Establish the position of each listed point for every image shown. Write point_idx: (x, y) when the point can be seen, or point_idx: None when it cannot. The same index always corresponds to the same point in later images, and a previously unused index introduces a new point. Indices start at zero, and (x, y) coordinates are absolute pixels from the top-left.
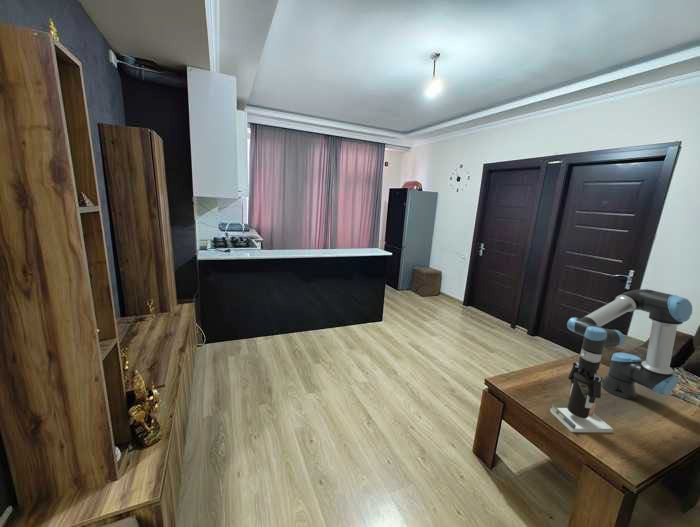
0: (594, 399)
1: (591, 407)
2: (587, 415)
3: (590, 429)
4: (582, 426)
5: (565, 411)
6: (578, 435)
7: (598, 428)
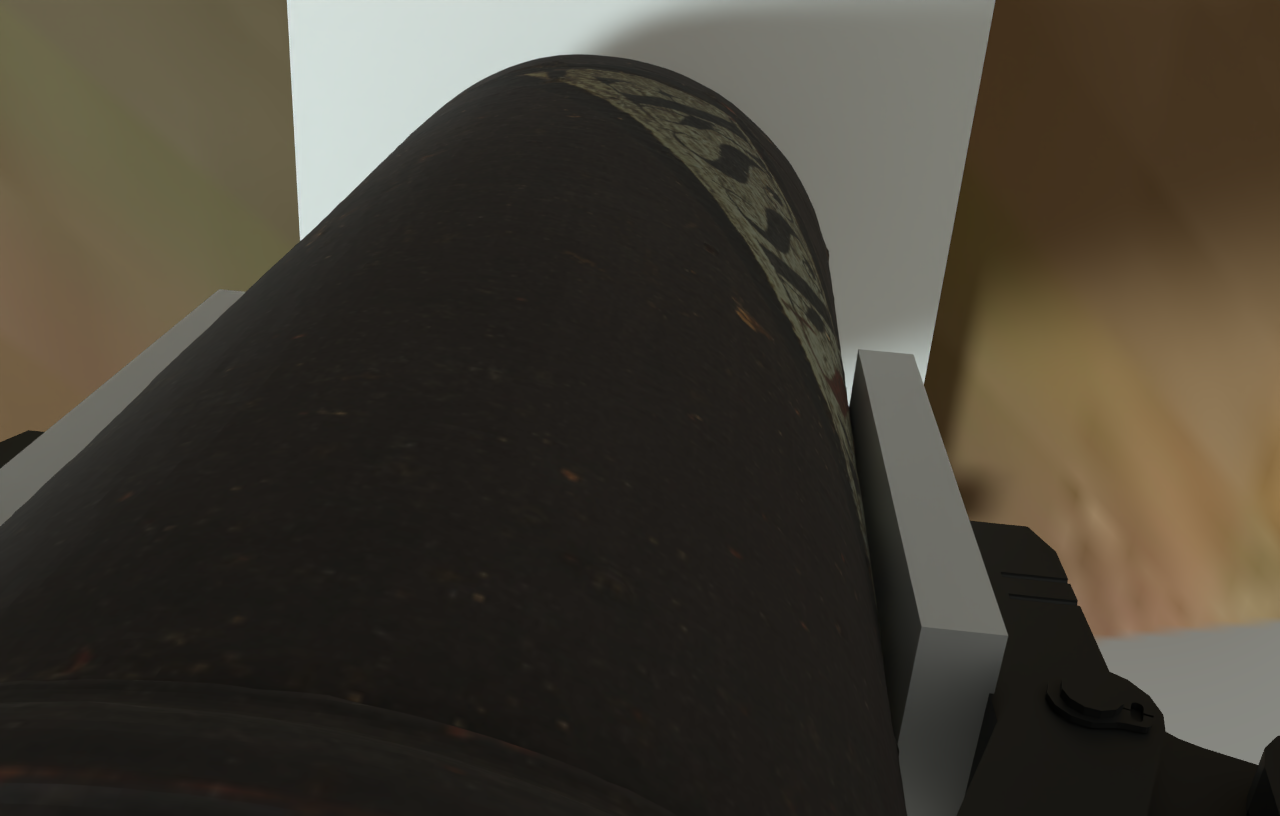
0: (1091, 658)
1: (913, 367)
2: (825, 255)
3: (952, 202)
4: (873, 334)
5: None
6: (967, 479)
7: (989, 8)
